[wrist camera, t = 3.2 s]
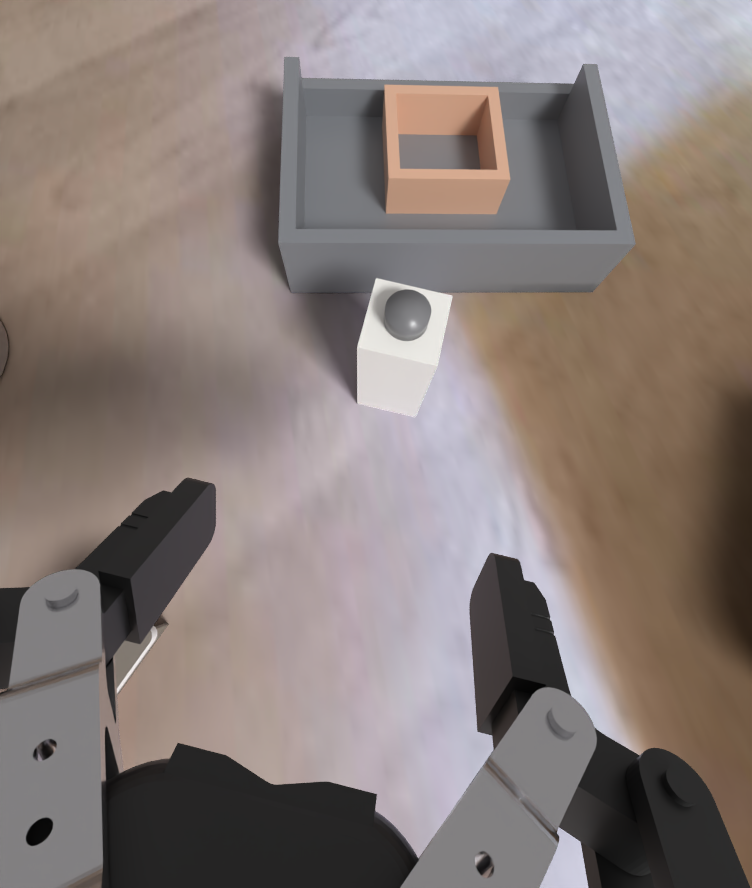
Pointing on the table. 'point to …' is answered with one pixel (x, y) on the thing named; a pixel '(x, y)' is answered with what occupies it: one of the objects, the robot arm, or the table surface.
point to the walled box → (449, 185)
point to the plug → (400, 346)
